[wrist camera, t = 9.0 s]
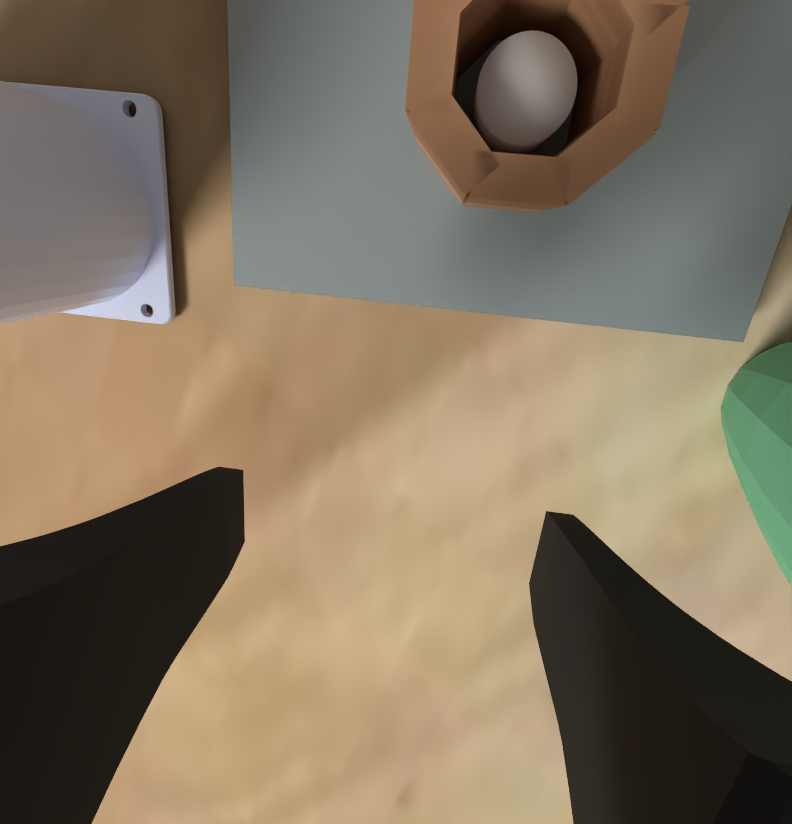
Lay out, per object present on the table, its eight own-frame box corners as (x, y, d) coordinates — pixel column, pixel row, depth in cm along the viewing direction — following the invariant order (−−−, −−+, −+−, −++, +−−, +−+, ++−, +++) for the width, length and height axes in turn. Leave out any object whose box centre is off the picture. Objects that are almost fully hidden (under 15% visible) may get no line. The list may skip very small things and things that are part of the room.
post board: (249, 281, 19) (185, 298, 15) (244, -120, 15) (152, -274, 10) (720, 333, 18) (813, 369, 14) (860, -84, 14) (1066, -242, 9)
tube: (413, 201, 16) (398, 191, 12) (432, -6, 14) (423, -118, 10) (584, 217, 16) (638, 213, 11) (628, 6, 14) (716, -104, 9)
